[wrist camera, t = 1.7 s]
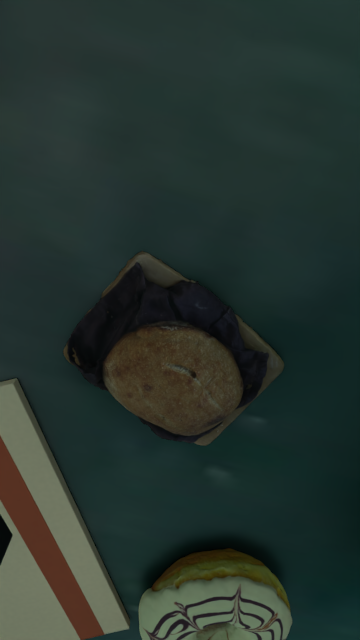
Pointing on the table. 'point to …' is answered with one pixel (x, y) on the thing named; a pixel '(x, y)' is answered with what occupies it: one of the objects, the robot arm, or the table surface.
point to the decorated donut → (215, 600)
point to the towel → (46, 541)
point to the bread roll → (171, 352)
